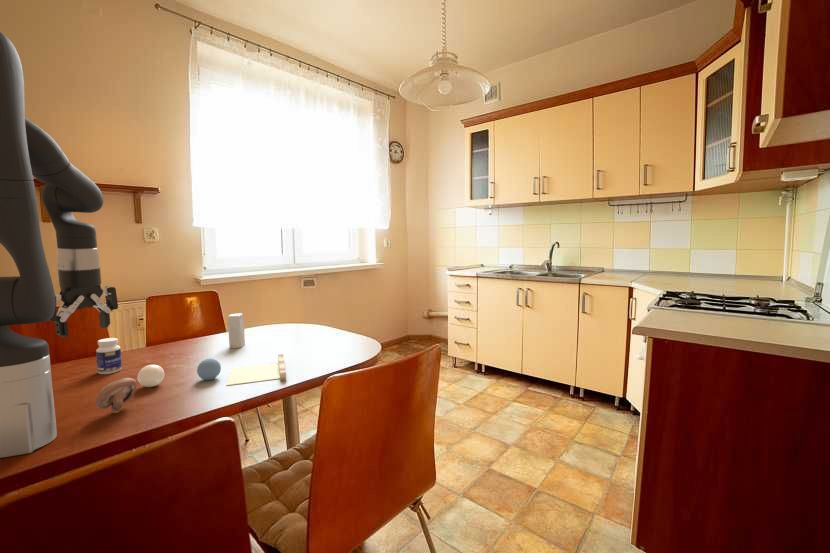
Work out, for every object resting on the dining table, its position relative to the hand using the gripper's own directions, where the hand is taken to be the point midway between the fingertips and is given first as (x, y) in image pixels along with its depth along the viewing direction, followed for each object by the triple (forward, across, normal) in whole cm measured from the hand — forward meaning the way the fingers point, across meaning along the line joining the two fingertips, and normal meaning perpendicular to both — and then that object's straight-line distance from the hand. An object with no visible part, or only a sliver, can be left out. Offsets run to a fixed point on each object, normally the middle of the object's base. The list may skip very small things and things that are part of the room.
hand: (85, 331), depth 90 cm
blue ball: (+14, +20, -17) cm, 30 cm away
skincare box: (+19, +49, +1) cm, 53 cm away
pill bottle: (+19, +15, +16) cm, 29 cm away
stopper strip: (+17, +33, -32) cm, 49 cm away
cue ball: (+14, +11, -6) cm, 19 cm away
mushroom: (+17, -3, -14) cm, 22 cm away
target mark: (+17, +28, -26) cm, 42 cm away
